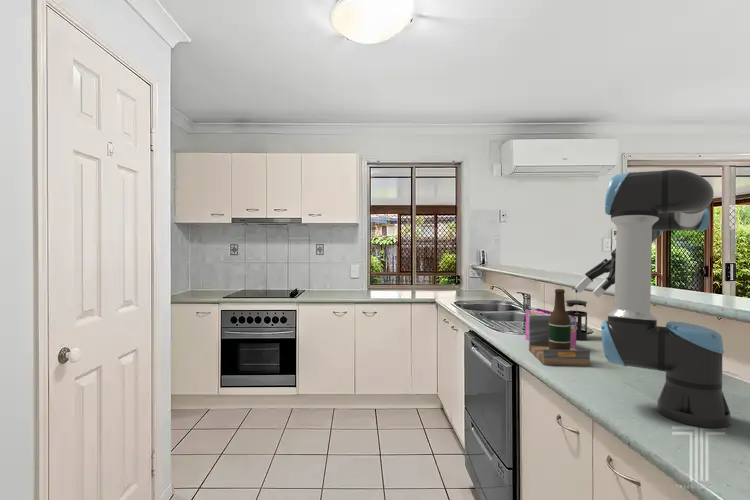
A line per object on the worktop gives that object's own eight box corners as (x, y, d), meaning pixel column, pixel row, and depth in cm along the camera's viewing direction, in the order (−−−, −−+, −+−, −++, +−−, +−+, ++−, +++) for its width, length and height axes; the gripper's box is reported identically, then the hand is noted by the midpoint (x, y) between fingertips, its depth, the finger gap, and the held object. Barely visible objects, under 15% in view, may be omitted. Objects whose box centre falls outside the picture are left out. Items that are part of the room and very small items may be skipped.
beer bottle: (566, 356, 156) (567, 291, 155) (545, 352, 161) (545, 289, 160) (573, 352, 161) (573, 289, 161) (552, 348, 166) (552, 287, 166)
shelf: (589, 366, 152) (590, 325, 152) (543, 365, 154) (544, 325, 153) (569, 351, 172) (569, 315, 172) (528, 350, 174) (529, 315, 173)
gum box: (522, 338, 195) (523, 308, 194) (536, 337, 197) (537, 307, 197) (561, 351, 172) (562, 318, 172) (577, 349, 175) (577, 316, 174)
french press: (591, 341, 188) (591, 289, 188) (568, 340, 190) (569, 289, 189) (582, 335, 200) (582, 286, 199) (561, 334, 201) (561, 286, 201)
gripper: (655, 261, 147) (611, 304, 148) (614, 258, 172) (577, 295, 173) (640, 246, 147) (596, 289, 148) (601, 245, 172) (564, 282, 173)
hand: (586, 292), depth 160 cm, fingers open, 13 cm apart
